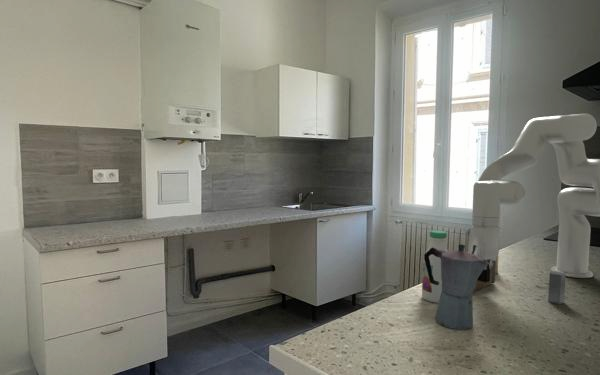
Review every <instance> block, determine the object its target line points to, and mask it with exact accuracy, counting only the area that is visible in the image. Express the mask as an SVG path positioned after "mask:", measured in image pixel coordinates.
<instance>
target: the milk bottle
mask: <svg viewBox="0 0 600 375" xmlns="http://www.w3.org/2000/svg"><path fill="white" fill-rule="evenodd" d="M447 235H448V234H447V231H445V230H444V231H443V230H437V229H436V230H430V232H429V240H430V241H429V245H428V247H427V249H426V251H425V253H427V251H429V250H430V249H431V248H432V247H433V248H435V249H437V250H444V251H449V250H448V247H447V243H446V240H447V237H448V236H447ZM429 260H430V265H431V270H432V275H433V278H434V280H435V281H438V282H439V285H434V284H432V283H430V280H429V276H428V272H427V267H426V264H425V260H424V259H423V264H422V280H421V281H422V284H421V286H422V287H421V297H422V299H423V300H425V301H427V302H431V303H437V304H438V303H439V299H440V295H441V291H442V278H441V258H439V257H436V256H434V255H433V254H432V255H430V256H429Z"/></svg>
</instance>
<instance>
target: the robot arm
mask: <svg viewBox="0 0 600 375" xmlns="http://www.w3.org/2000/svg"><path fill="white" fill-rule="evenodd" d="M597 128H598V126H597V120H596V118H595V117H594V116H593V115H592V114H591V113H578V114H577V113H575V114H563V115H553V116H542V117H534V118H532V119H530V120H529V121H528V122H527V123H525V125H524V127H523V129H522V131H521V133H520V134H519V135H518V137H517V139H516V141H515V143H514V144H513V145H512V148H511V149H510V150H509V151H508V152H507V153H505V154H503V155H501V156H500V157H499V158H496V159H495V160H494V161H493V162H491V163H490V164H489V165H488V166H486V167H485V169H484V170H483V172H482V173H481V175H480V177H479V178H478V180H477V181H476V182H475V183H474V185H473V194H472V220H471V221H472V222H471V227H470V231H469V236H468V243H467V245H468V246H467V252H468V253H472V254H475V255H478V256H479V257H480V258H483V259H485V260H486V261H488V263H489V265H486V267H485V268H484V269H483V271H482V273H481V274H480V276H479V277H478V279H477V280H478V281H482V282H485V283H486V282H489V281H490V269H491V265H492V261H494V260H495V257H497V256H499V253H500V242H499V237H500V230H499V229H500V220H501V218H500V217H501V205H507V206H514V205H518V204H519V203H521V202H522V201H524V198H525V195H526V190H525V187H524V186H523V184H522V183H520V182H518V181H516V180H508V179H507V180H506V179H503V178H505V177H506V176H509V175H510V174H514V173H516V172H519V171H524V170H526V169H529V168H532V167H533V166H535V165H536V164H537V163H538V161H539V160H540V158H541V157H542V154H543V153H544V151H545V149H546V147H547V146H548V145H549V144H550V145H551V146H552V147H553V148H554V151H555V155H556V162H557V163H556V165H557V169H558V176H559V179H560V182H561V183H562V184H563V185H567V186H572V187H566V188H563V189H561V190H560V191H559V193H558V195H557V198H556V200H557V208H558V217H559V218H558V220H559V221H558V222H559V223H558V233H557V234H558V236H557V237H558V238H557V251H556V252H557V253H556V265H554V266H552V267H551V272H554V271H555V272H560V273H564V274H566V277H569V278H576V279H590V278H593V276H594V273H593V272H592V271H590V270H589V265H590V262H589V258H590V256H589V255H590V245H591V243H590V242H591V230H592V229H591V228H592V227H591V224H590V221H589V220H588V219H587V217H586V216H591V217H600V158H588V157H587V154H586V149H585V148H586V147H585V144H584V141H587V140H589V139H591V138H592V137H593V136H594V135H595V133H596V131H597ZM573 186H575V187H573ZM577 186H578V187H577ZM588 187H590V188H588Z"/></svg>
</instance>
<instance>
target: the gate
mask: <svg viewBox="0 0 600 375" xmlns="http://www.w3.org/2000/svg"><path fill="white" fill-rule="evenodd" d="M495 266H496V260H494V261H492V265H491V269H490V281H489V282H486V283H485V282H482V281H478V280H477V282H476V286H475V289H473V292H476V291H478V290H479V289H482V288H485V287H487V286H490V285H492V284H495V282H496V273H495Z"/></svg>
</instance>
